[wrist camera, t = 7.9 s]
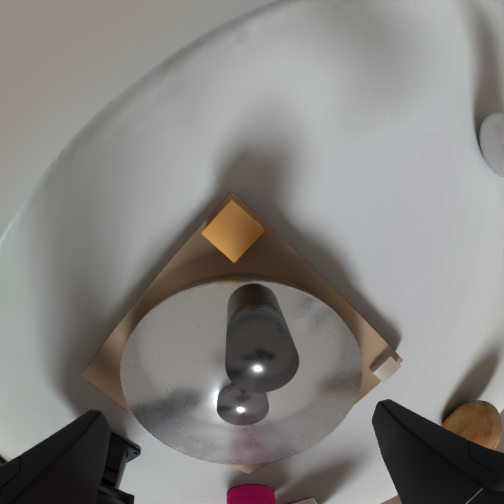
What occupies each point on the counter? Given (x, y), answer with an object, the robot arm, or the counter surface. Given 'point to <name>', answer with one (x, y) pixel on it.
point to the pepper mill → (251, 495)
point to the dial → (241, 369)
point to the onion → (476, 423)
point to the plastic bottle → (493, 141)
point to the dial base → (238, 262)
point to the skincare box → (307, 501)
